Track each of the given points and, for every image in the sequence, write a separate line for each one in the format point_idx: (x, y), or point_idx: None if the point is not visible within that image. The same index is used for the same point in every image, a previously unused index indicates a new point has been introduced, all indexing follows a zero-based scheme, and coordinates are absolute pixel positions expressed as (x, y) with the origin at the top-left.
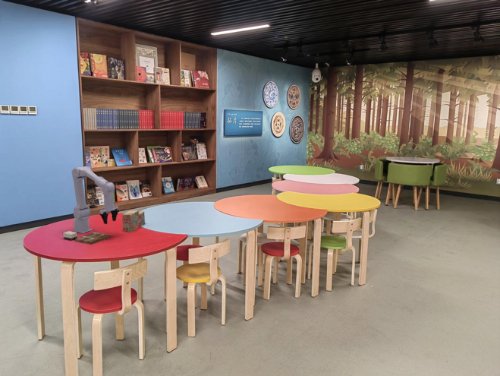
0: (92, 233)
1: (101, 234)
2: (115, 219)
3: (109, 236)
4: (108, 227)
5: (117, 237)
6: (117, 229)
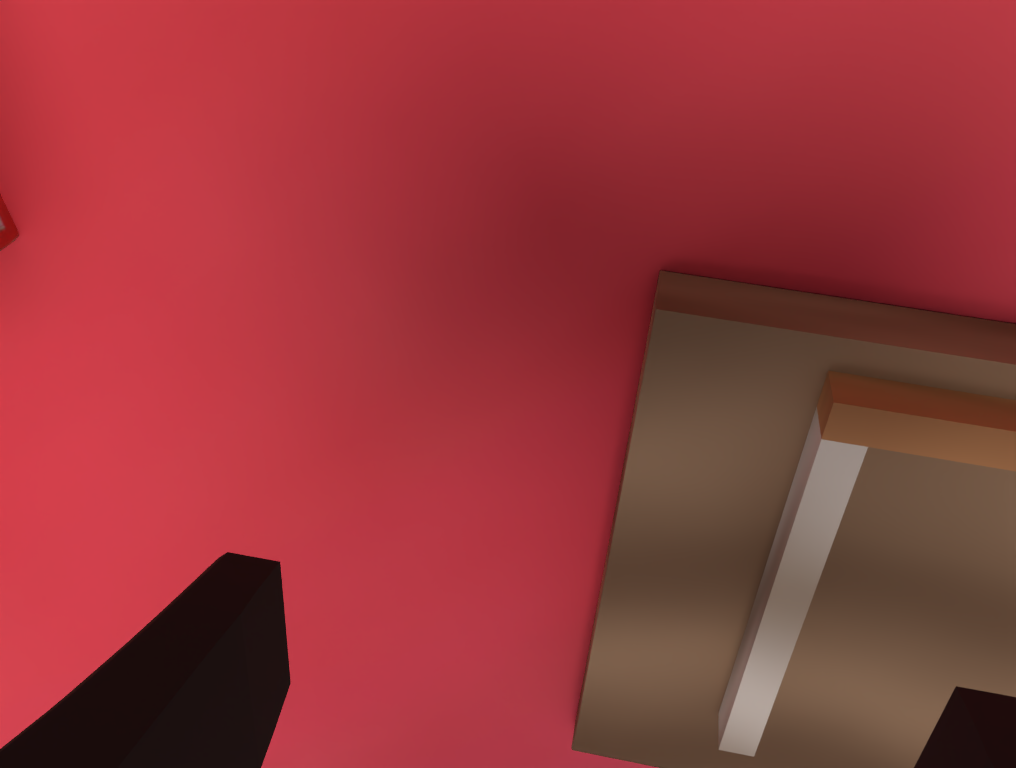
0: (691, 756)
1: (838, 525)
2: (216, 620)
3: (701, 292)
4: (44, 678)
5: (621, 13)
6: (10, 457)
